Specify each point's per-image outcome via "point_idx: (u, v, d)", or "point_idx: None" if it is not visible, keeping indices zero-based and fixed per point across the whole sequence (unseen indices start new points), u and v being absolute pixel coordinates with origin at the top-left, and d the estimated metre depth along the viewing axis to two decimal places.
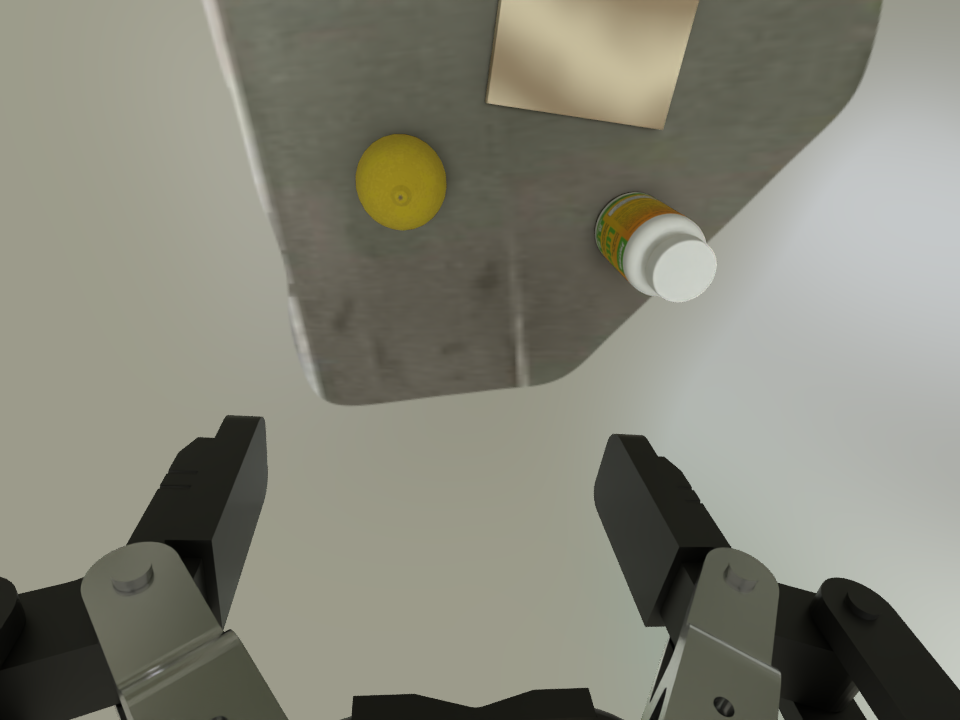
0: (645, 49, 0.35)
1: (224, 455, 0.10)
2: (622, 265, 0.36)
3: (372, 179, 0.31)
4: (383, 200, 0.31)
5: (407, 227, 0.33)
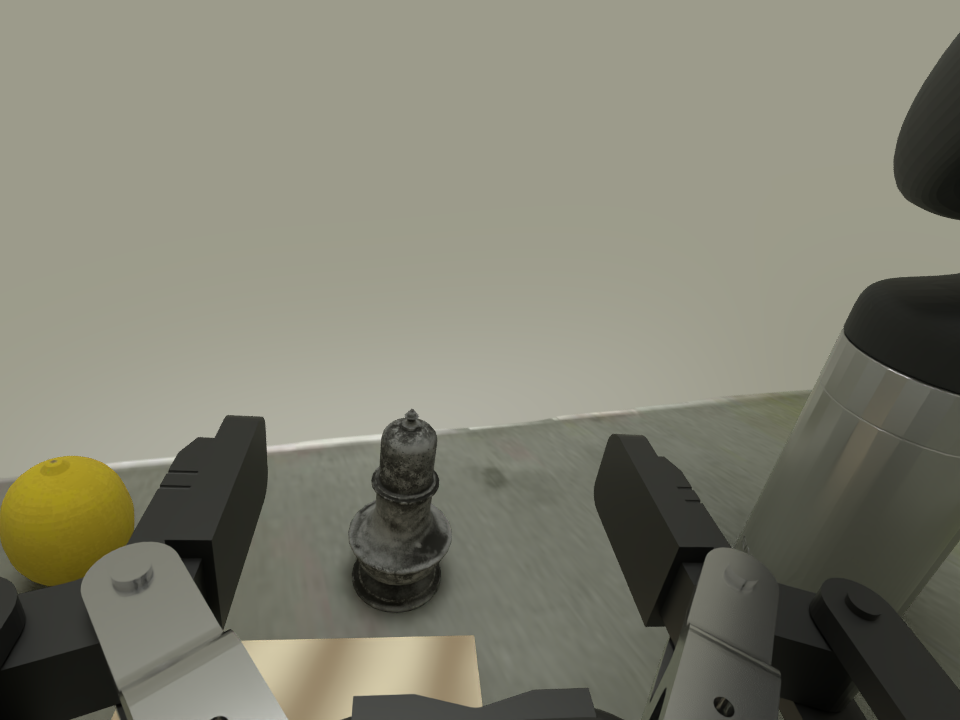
0: None
1: (224, 455, 0.10)
2: None
3: None
4: (57, 458, 0.28)
5: (7, 492, 0.27)
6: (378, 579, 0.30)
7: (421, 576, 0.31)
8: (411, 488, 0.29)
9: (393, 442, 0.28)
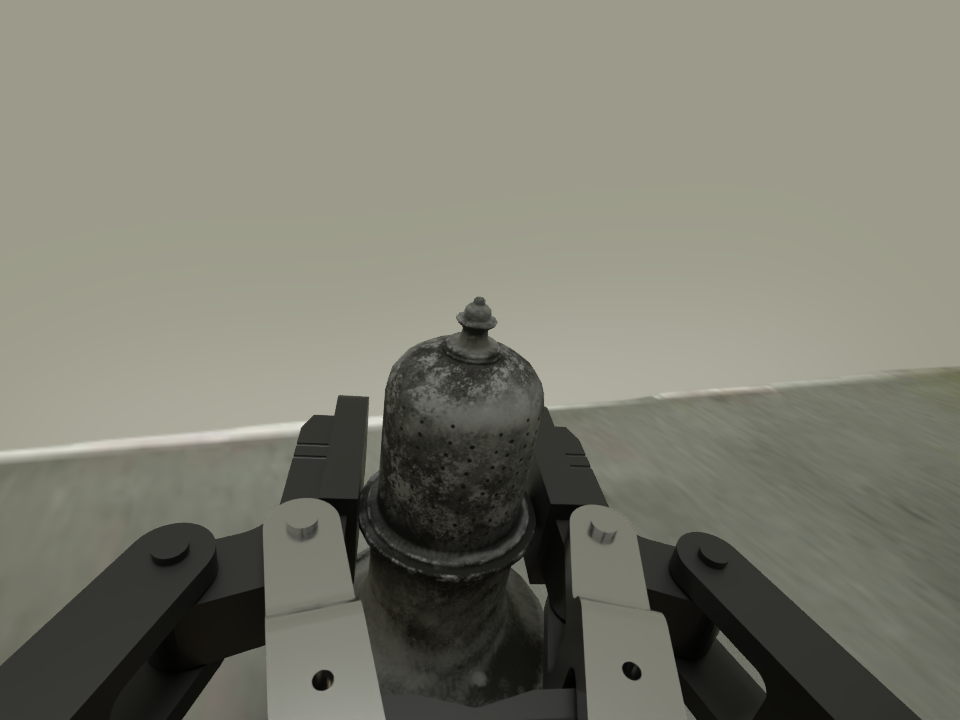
0: None
1: (347, 429, 0.12)
2: None
3: None
4: None
5: None
6: None
7: None
8: (471, 535, 0.10)
9: (423, 395, 0.09)
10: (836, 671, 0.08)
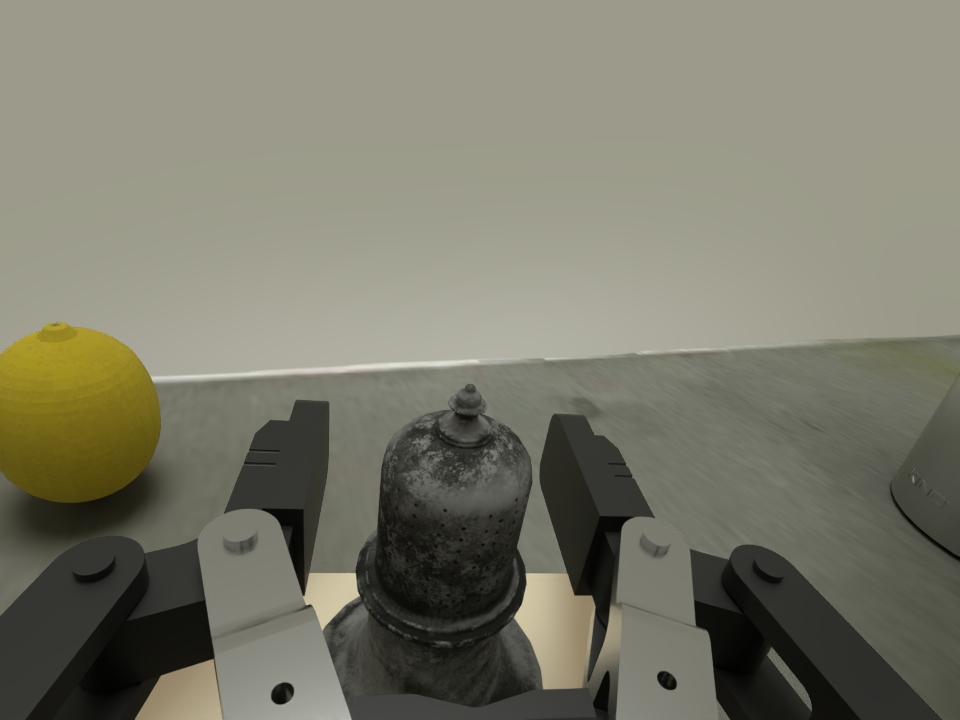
0: None
1: (301, 435, 0.11)
2: None
3: (100, 333, 0.22)
4: None
5: None
6: None
7: None
8: (464, 603, 0.10)
9: (417, 480, 0.09)
10: (889, 698, 0.08)
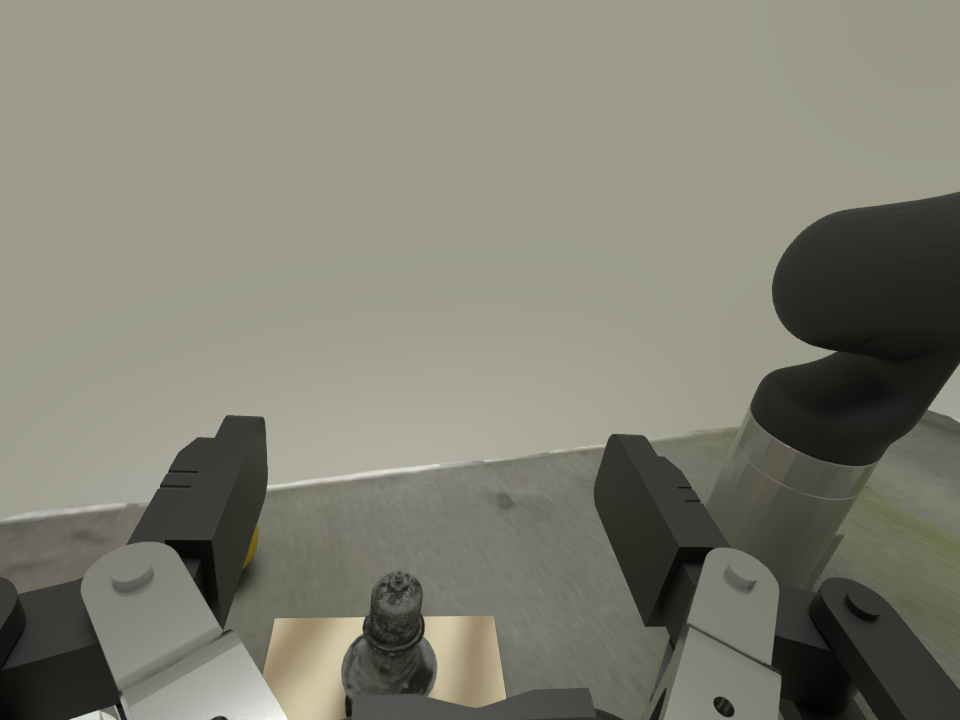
0: None
1: (224, 455, 0.10)
2: None
3: None
4: None
5: None
6: None
7: None
8: (398, 640, 0.31)
9: (382, 603, 0.30)
10: None
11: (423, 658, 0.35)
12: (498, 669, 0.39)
